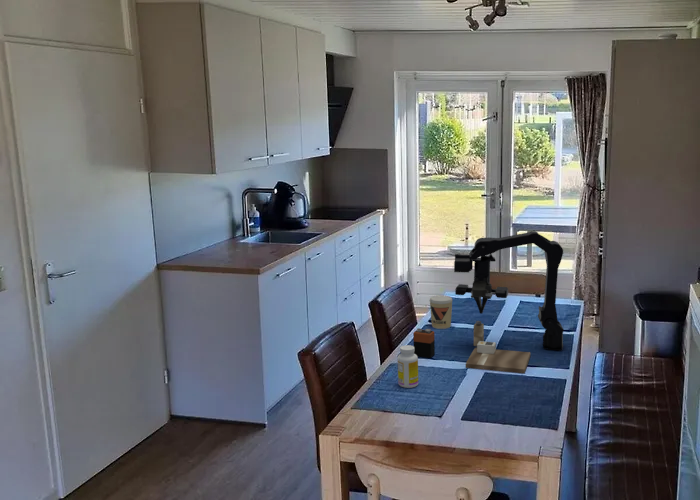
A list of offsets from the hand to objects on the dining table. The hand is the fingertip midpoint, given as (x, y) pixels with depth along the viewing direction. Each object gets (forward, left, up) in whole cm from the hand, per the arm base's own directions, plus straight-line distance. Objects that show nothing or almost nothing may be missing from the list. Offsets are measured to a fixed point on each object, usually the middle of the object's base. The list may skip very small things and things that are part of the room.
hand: (481, 313), depth 262 cm
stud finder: (-4, +9, -11) cm, 15 cm away
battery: (+18, +14, -13) cm, 27 cm away
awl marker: (+1, -2, -13) cm, 13 cm away
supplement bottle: (+16, +42, -13) cm, 47 cm away
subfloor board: (-9, +14, -13) cm, 21 cm away
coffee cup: (+20, -21, -13) cm, 32 cm away
